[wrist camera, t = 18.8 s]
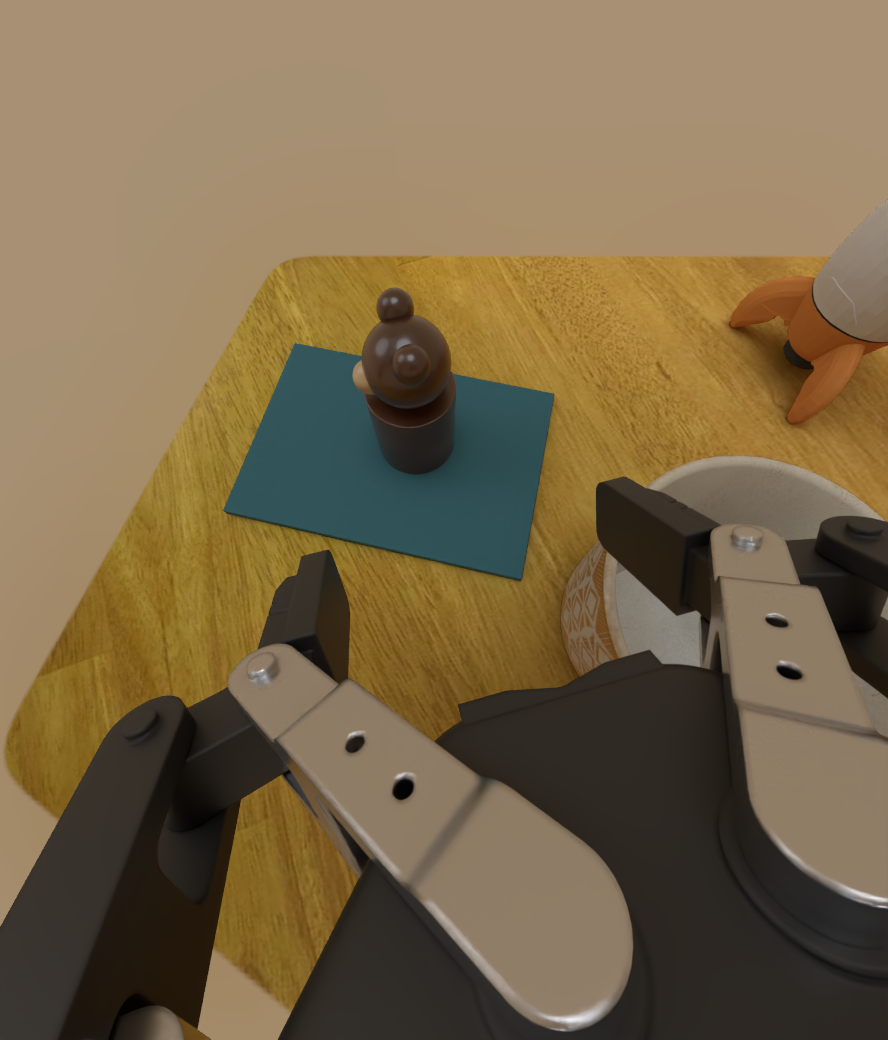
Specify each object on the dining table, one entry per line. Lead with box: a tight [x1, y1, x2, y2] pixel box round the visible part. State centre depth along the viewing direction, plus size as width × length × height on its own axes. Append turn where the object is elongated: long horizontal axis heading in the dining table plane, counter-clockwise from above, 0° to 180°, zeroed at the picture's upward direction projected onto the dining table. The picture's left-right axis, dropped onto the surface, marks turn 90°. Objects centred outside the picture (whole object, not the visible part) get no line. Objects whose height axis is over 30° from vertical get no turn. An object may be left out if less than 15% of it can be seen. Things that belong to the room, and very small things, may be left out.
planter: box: [561, 455, 888, 737], centre depth 20 cm, size 13×13×10 cm
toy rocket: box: [730, 199, 888, 424], centre depth 25 cm, size 10×11×15 cm
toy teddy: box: [352, 288, 456, 474], centre depth 24 cm, size 6×5×11 cm
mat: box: [223, 343, 554, 581], centre depth 29 cm, size 20×14×1 cm
